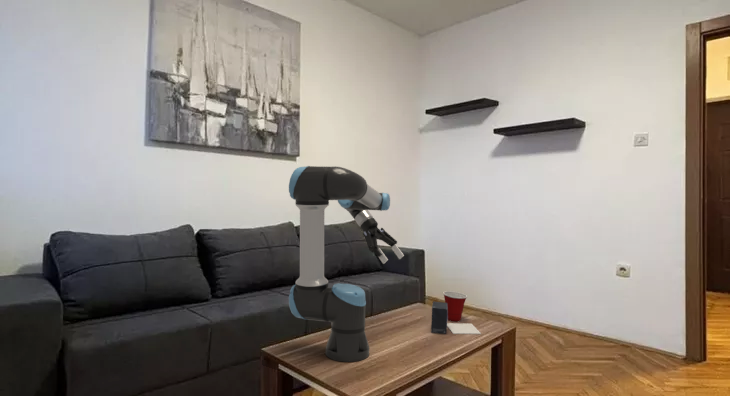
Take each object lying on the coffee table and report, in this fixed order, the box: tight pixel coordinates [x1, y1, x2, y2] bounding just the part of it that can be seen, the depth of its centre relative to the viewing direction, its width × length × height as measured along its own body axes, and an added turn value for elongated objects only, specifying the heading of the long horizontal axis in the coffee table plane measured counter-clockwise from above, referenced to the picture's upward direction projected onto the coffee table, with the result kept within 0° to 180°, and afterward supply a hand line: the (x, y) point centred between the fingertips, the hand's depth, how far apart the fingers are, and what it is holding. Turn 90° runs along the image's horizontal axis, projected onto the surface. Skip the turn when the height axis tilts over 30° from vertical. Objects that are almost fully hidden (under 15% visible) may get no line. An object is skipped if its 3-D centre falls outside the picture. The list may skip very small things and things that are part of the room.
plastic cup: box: [442, 290, 468, 323], centre depth 187 cm, size 11×11×12 cm
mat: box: [447, 322, 482, 335], centre depth 175 cm, size 12×13×1 cm
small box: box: [430, 301, 448, 335], centre depth 173 cm, size 11×6×10 cm, turn 168°
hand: (394, 259), depth 181 cm, fingers open, 13 cm apart
